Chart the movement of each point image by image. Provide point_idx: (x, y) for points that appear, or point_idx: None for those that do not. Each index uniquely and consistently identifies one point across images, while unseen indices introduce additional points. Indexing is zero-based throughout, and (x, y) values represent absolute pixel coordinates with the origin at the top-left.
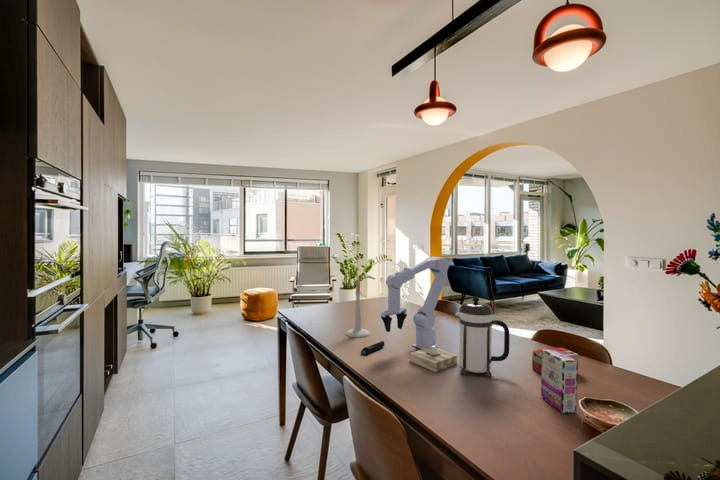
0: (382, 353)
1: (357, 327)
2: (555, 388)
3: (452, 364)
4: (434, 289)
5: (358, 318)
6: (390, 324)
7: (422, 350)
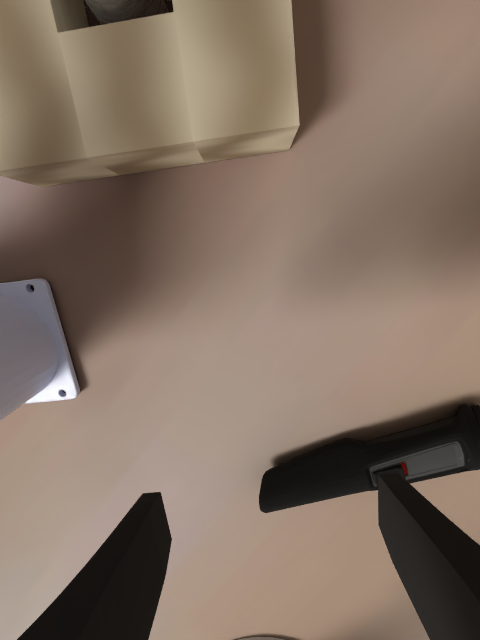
0: (353, 381)
1: None
2: None
3: None
4: None
5: None
6: (473, 587)
7: (140, 118)
